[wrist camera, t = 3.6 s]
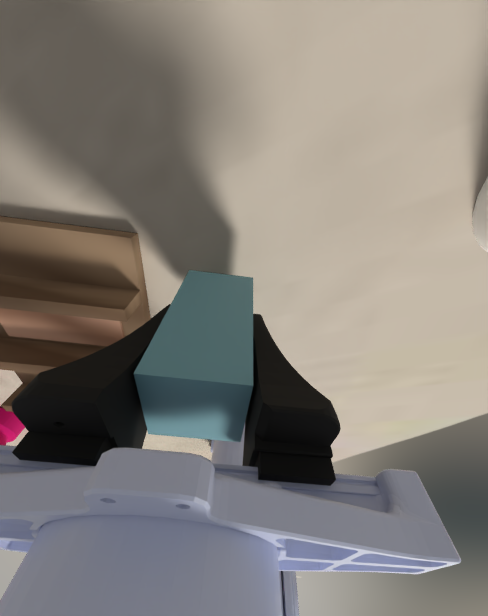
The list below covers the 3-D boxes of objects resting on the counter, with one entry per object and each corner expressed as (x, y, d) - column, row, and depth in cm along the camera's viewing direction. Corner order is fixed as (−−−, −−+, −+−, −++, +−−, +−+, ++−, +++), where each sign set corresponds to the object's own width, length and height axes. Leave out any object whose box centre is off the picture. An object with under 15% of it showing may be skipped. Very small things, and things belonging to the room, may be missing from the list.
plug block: (245, 326, 16) (240, 442, 10) (190, 320, 16) (148, 434, 10) (252, 277, 14) (253, 385, 8) (189, 270, 14) (133, 373, 7)
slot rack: (164, 412, 28) (154, 442, 25) (47, 401, 27) (23, 431, 24) (137, 233, 15) (111, 252, 12) (-81, 206, 15) (-161, 219, 12)
